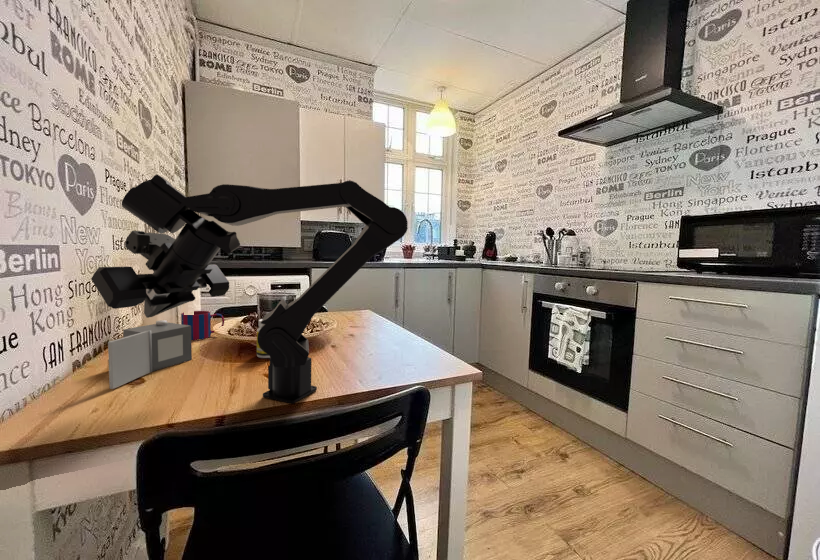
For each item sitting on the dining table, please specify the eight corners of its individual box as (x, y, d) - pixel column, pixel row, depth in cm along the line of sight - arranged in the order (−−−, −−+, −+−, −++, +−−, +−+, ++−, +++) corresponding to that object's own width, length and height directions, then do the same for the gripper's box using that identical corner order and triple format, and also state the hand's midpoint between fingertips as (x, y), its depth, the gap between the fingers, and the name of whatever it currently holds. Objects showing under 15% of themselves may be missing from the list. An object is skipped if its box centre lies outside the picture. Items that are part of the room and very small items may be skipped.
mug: (186, 335, 95) (185, 310, 94) (226, 333, 98) (226, 310, 97) (178, 341, 88) (177, 315, 88) (221, 339, 92) (221, 314, 91)
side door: (147, 370, 66) (146, 330, 65) (153, 371, 66) (152, 330, 65) (107, 388, 57) (105, 342, 57) (114, 388, 57) (112, 342, 57)
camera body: (192, 359, 74) (191, 322, 74) (147, 373, 66) (146, 330, 65) (166, 354, 77) (165, 318, 76) (120, 366, 68) (119, 326, 68)
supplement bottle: (270, 359, 76) (270, 322, 76) (252, 357, 77) (251, 320, 76) (282, 353, 81) (282, 318, 80) (265, 351, 82) (265, 317, 81)
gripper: (217, 221, 64) (177, 277, 68) (96, 208, 46) (54, 284, 51) (250, 265, 61) (206, 319, 66) (136, 268, 44) (88, 342, 49)
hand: (147, 315), depth 58 cm, fingers closed
